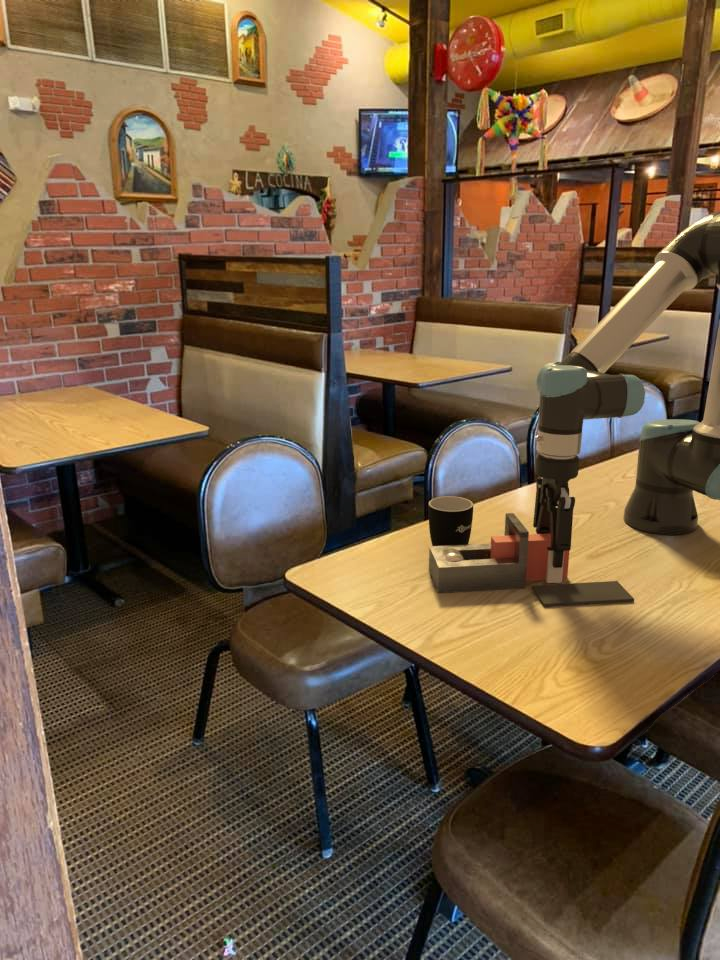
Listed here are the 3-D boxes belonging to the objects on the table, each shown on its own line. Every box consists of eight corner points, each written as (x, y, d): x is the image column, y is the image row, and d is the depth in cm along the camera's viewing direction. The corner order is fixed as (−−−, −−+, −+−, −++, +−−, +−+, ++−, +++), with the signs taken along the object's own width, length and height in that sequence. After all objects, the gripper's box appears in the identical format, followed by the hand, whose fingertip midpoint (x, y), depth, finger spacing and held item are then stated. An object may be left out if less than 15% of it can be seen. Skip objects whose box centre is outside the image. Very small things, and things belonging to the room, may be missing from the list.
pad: (616, 583, 132) (617, 580, 132) (633, 601, 125) (634, 598, 125) (531, 588, 130) (531, 585, 130) (543, 606, 124) (544, 603, 124)
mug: (456, 562, 142) (457, 514, 138) (419, 551, 147) (419, 504, 144) (487, 543, 150) (489, 498, 147) (451, 533, 156) (452, 489, 153)
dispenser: (510, 566, 140) (513, 513, 136) (525, 588, 131) (528, 532, 127) (428, 570, 138) (429, 516, 135) (438, 592, 129) (439, 536, 126)
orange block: (561, 571, 137) (564, 532, 135) (567, 578, 134) (570, 538, 132) (489, 575, 136) (491, 536, 134) (493, 582, 133) (495, 542, 131)
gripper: (521, 442, 136) (513, 556, 143) (555, 468, 118) (544, 597, 125) (559, 441, 137) (550, 555, 143) (599, 467, 119) (586, 595, 126)
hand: (547, 574), depth 134 cm, fingers open, 6 cm apart
